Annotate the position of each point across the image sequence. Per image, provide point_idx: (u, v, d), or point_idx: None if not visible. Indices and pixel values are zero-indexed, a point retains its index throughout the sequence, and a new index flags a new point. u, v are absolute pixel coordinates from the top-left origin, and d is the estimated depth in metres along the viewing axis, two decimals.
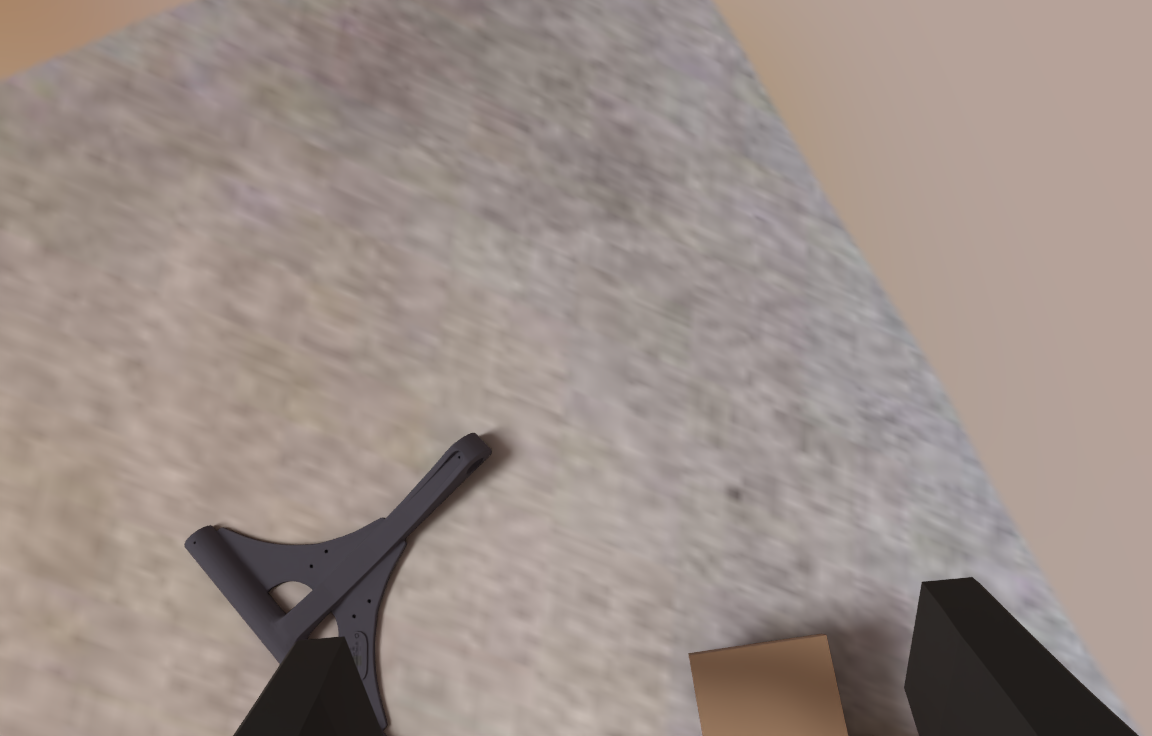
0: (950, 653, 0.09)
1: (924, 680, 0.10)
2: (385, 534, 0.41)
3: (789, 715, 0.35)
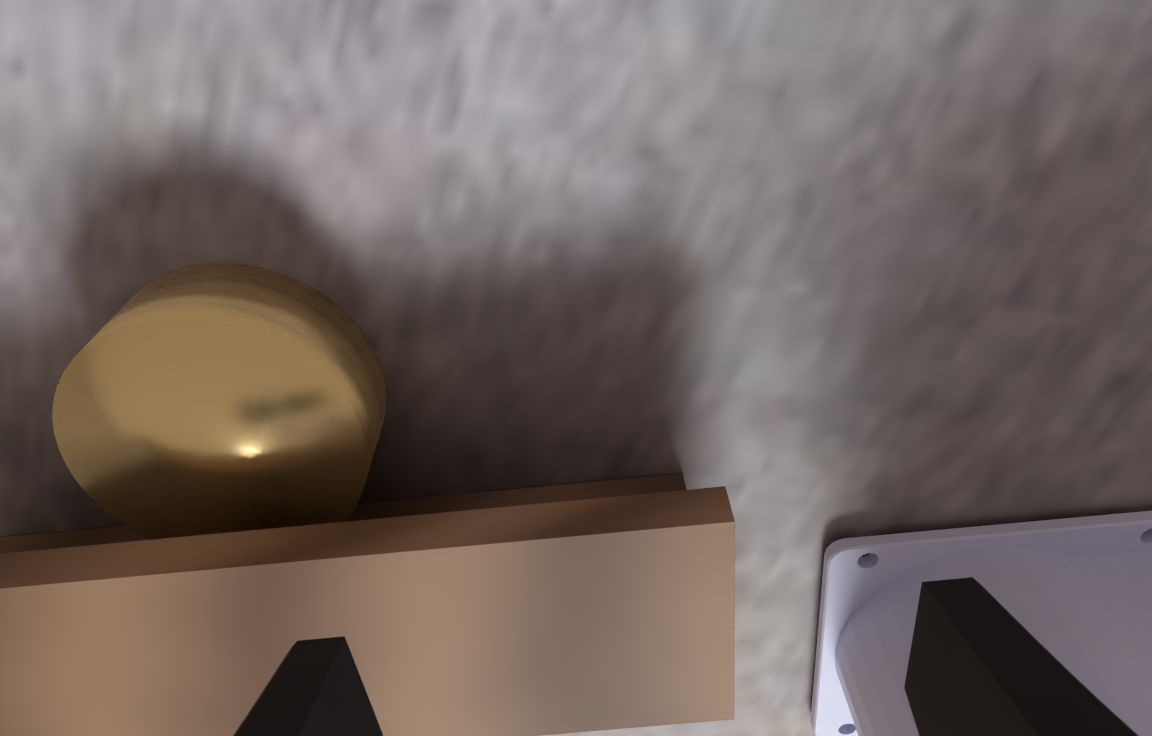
0: (950, 653, 0.09)
1: (924, 680, 0.10)
2: None
3: (7, 668, 0.17)
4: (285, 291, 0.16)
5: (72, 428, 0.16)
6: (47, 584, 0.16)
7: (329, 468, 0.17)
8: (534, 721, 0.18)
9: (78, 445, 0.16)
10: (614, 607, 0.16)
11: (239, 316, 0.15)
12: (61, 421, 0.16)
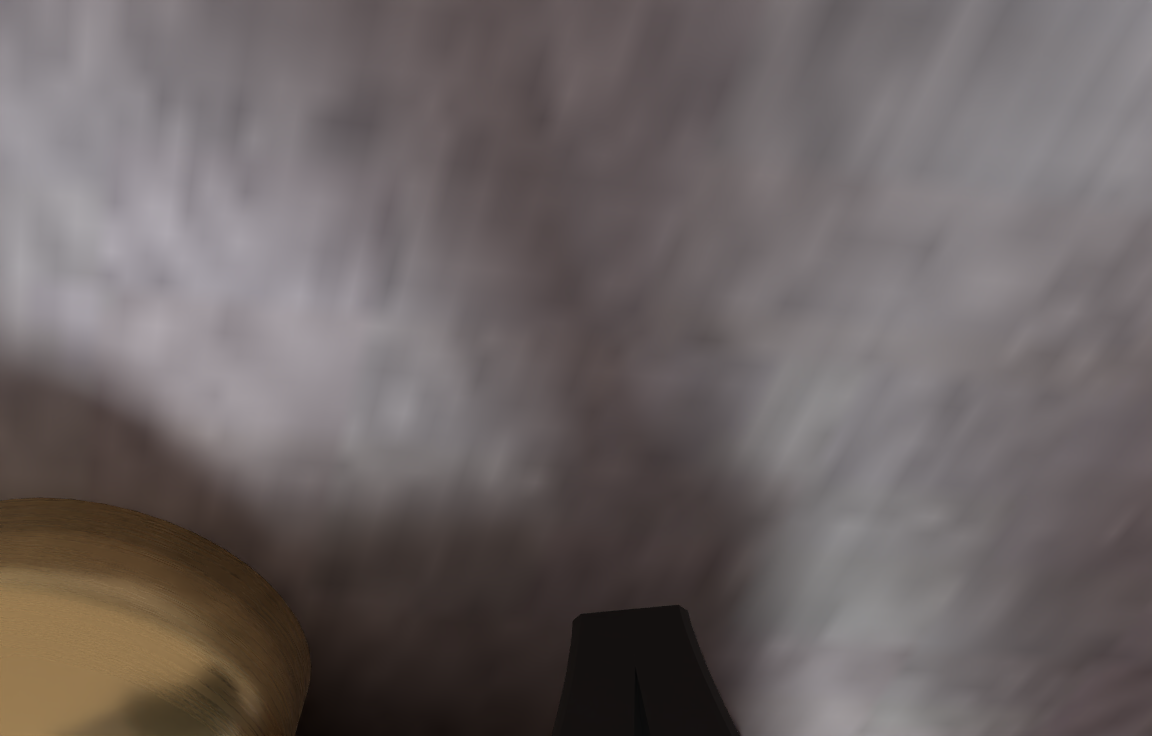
0: None
1: None
2: None
3: None
4: (133, 549, 0.10)
5: None
6: None
7: None
8: None
9: None
10: None
11: (35, 627, 0.09)
12: None
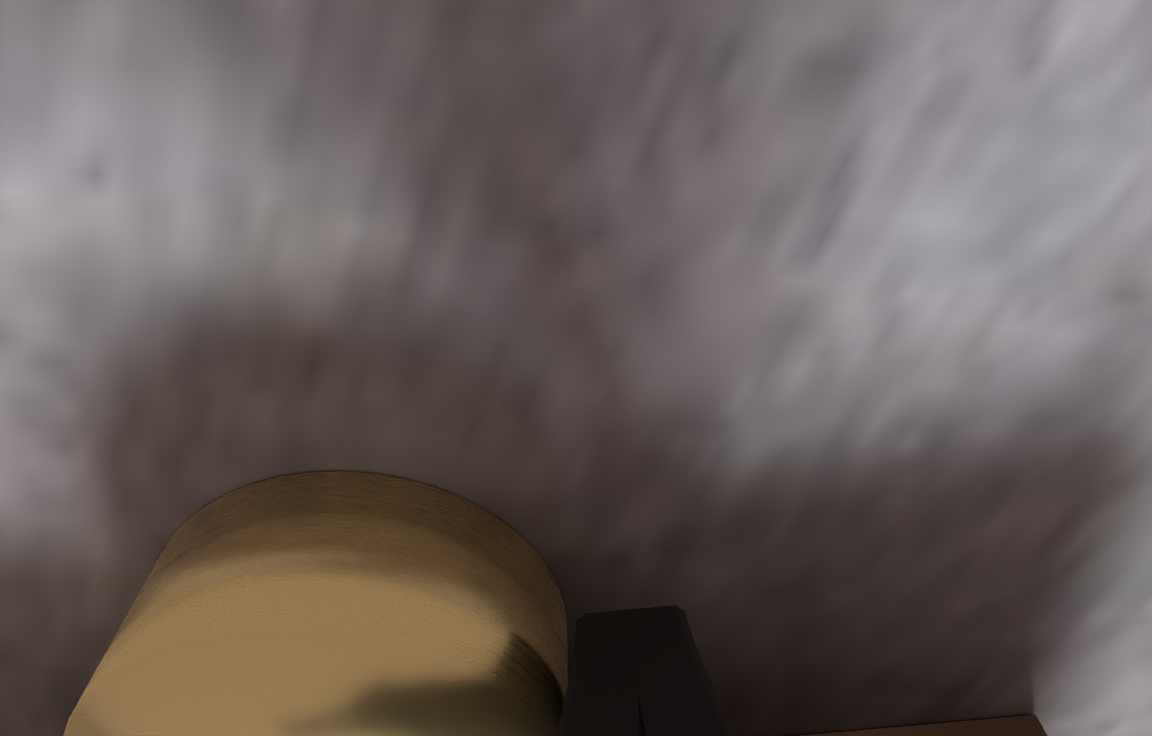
0: None
1: None
2: None
3: None
4: (437, 532, 0.10)
5: None
6: None
7: None
8: None
9: None
10: None
11: (381, 611, 0.09)
12: None
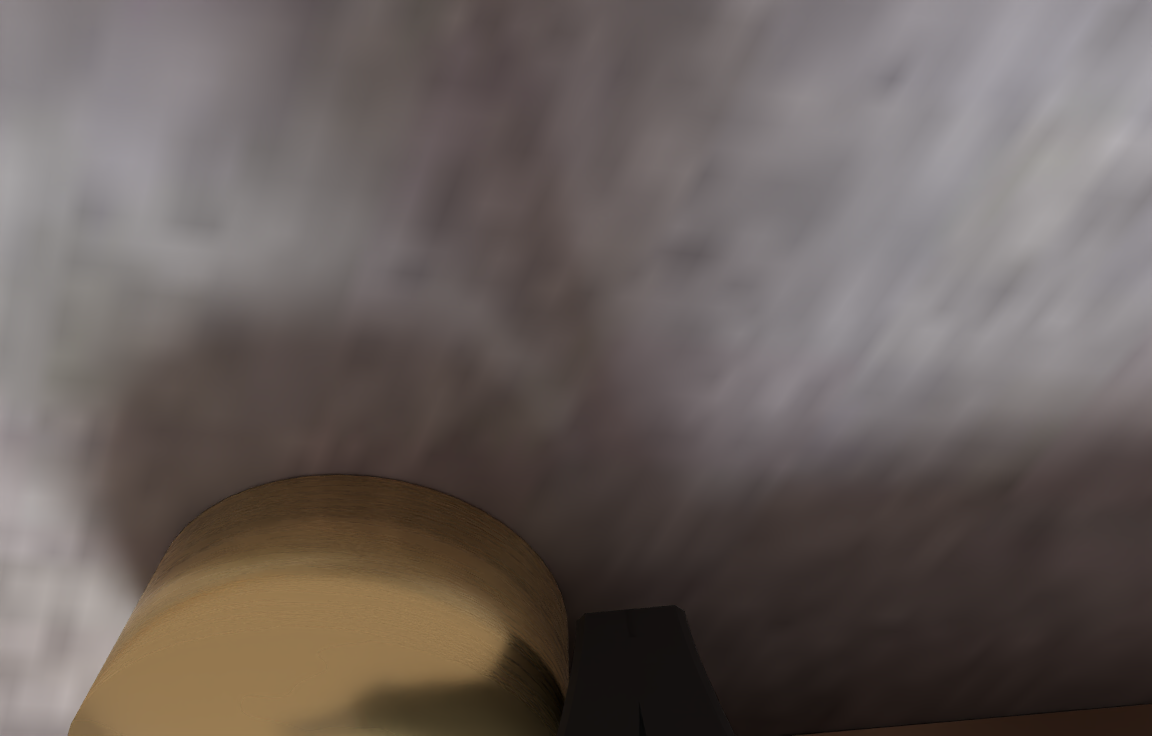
0: None
1: None
2: None
3: None
4: (437, 535, 0.10)
5: None
6: None
7: None
8: None
9: None
10: None
11: (379, 613, 0.09)
12: None
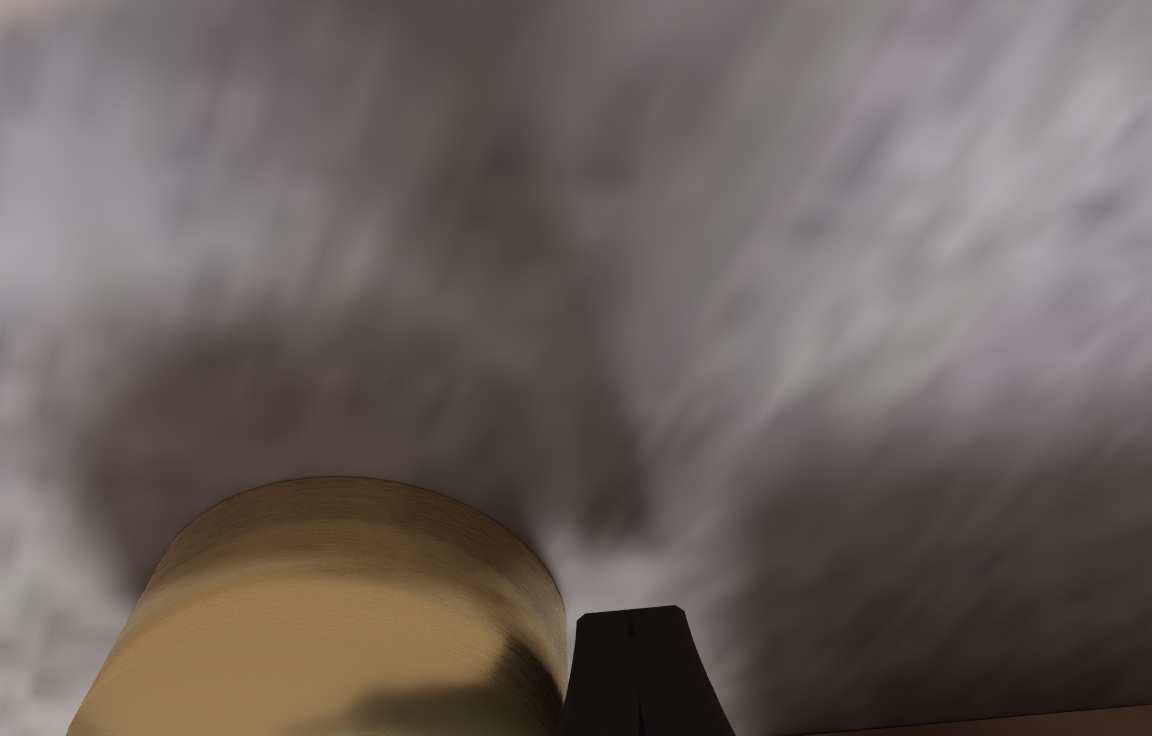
0: None
1: None
2: None
3: None
4: (436, 537, 0.10)
5: None
6: None
7: None
8: None
9: None
10: None
11: (379, 617, 0.09)
12: None
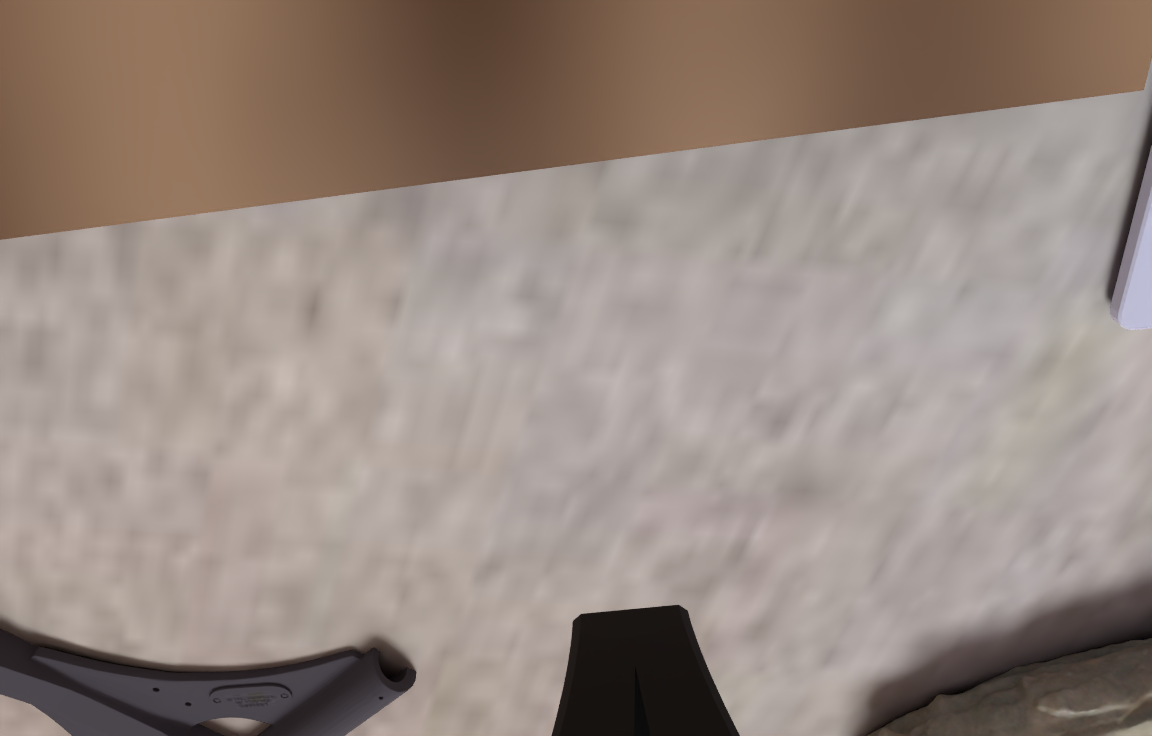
0: None
1: None
2: (23, 689, 0.23)
3: None
4: None
5: None
6: None
7: None
8: (836, 94, 0.12)
9: None
10: None
11: None
12: None
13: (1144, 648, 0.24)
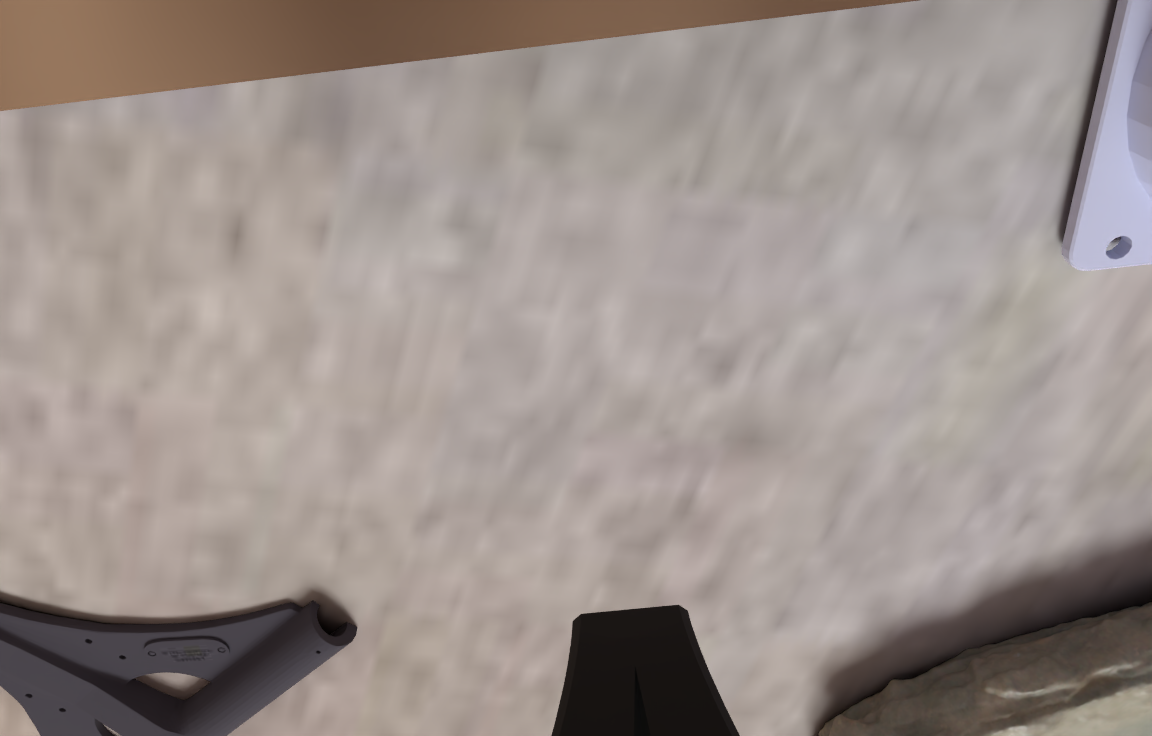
0: None
1: None
2: None
3: None
4: None
5: None
6: None
7: None
8: None
9: None
10: None
11: None
12: None
13: (1092, 626, 0.23)
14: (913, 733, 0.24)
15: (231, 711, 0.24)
